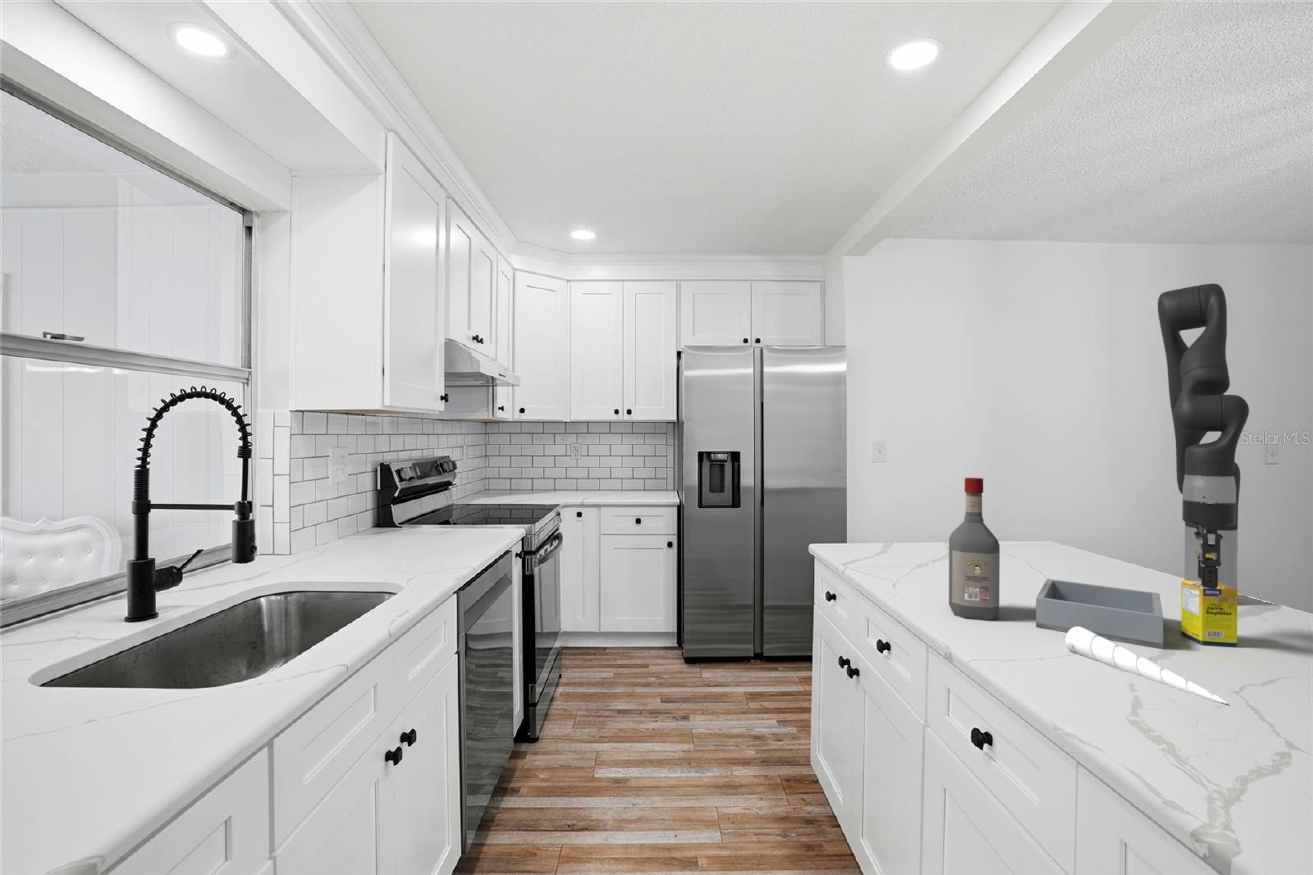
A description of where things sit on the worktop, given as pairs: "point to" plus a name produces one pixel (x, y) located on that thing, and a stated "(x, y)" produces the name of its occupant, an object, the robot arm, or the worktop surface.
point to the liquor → (974, 561)
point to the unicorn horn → (1129, 661)
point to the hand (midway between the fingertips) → (1207, 583)
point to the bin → (1101, 611)
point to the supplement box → (1209, 614)
